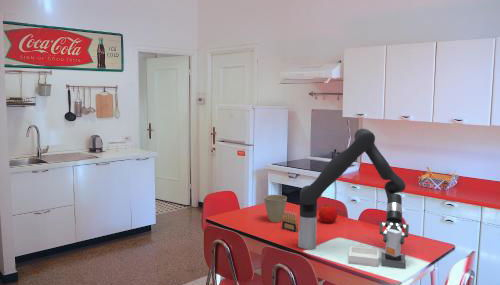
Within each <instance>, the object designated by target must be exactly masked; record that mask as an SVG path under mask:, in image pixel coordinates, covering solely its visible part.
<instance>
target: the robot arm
mask: <svg viewBox="0 0 500 285" xmlns="http://www.w3.org/2000/svg"><path fill="white" fill-rule="evenodd" d="M375 140H376V136H375V134H374V132H372V131H370V130H369V129H367V128H359V129H357V130H356V132H355V134H354V141H352V143H351V144H350V145H349V146H348V147H347V148H346V149H344V150H342V151H341V152H339V153H338V154H337V155H335V156H334V157H333V158H331V160H330V161H329V162H328V163H327V164H326V165H325V166H324V168H323V169H322V170H321V171H320V173H319V175H318V177H317V178H316V179H315V180H314V181H313V182H312V183H311V184H309V185H305V186H303V187H302V188H301V189H300V193H299V229H298V235H297V236H298V240H297V241H298V243H297V244H298V245H297V246H298V248H301V249H304V250H313V249H316V247H317V228H318V227H317V223H318V222H317V221H318V220H317V219H318V200H319V198H320V197H321V196H322V194H323V193H325V191H326V190H327V189H328V188H329V187H330V186H331V185H332V184H333V183H335V182H336V181H337V180H338V179H339V178H340V177H341V176H342V175H343V174H345V172H346V171H347V170H348V169H349V168H350V167H351V166H352V165H353V163H355V161H357V159H358V158H359V157H360V156H362V155H363V154H364V153H365V154H366V155H367V157H368V158H369V160H370V161H371V164H372V165H373V167H374V168H375V169H376V172H377V173H378V175H379V177H380V178H381V179H382V180H383V181H387V182H385V184H384V191H385V195H386V199H387V206H386V214H385V215H386V216H385V217H386V218H385V222H382V221H380V222H379V235H382V237H383V238H382V241H383V242H384V243H385V244H386V233H387V230H389V229H394V230H397V231H400V232H402V236H401V246H402V245H404V243H405V238H408V237H409V230H410V229H409V228H410V227H409V226H410V225H409V224H408V223H407V224H403V207H402V206H403V205H402V200H403V199H402V196H401V195H400V194H399V193H401V192H404V191H405V189H406V183H405V181H404V180H403V178H401V177H400V176H399V175H398V174H397V173H396V172H395V171H394V170H393V168H392V167H391V166H390V164H389V162H388V161H387V160H386V158H385V157H384V155H383V154H382V153H381V152H380V150H379V148H378V147H377V145H376V144H375V142H376V141H375ZM384 227H386V228H385V229H384V231H383V228H384ZM402 229H403V230H405V233H404V232H403V230H402Z"/></svg>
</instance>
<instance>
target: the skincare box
mask: <svg viewBox="0 0 500 285" xmlns="http://www.w3.org/2000/svg"><path fill="white" fill-rule="evenodd" d="M402 232H403V231H402ZM402 232H400V231H397V230H394V229H389V230H387V233H386V243H385V249H384V250H385V251H384V253H387V254H389V255H392V256H394V257H397V256H400V254H401V252H402V250H401V248H402V245H401V236H402Z"/></svg>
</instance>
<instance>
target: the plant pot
mask: <svg viewBox="0 0 500 285" xmlns="http://www.w3.org/2000/svg"><path fill="white" fill-rule="evenodd" d="M263 199H264V204H265V205H264V206H265V210H266V213H267V214H266V215H267V216H268V220H269V222H270V221H271V222H270V223H274V222H277V223H280V222H281V221H283V213H284V210H285V211H286V208H287V207H286V205H287V200H288V197H287V196H286V195H282V194H268V195H265V196H264V197H263Z"/></svg>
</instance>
